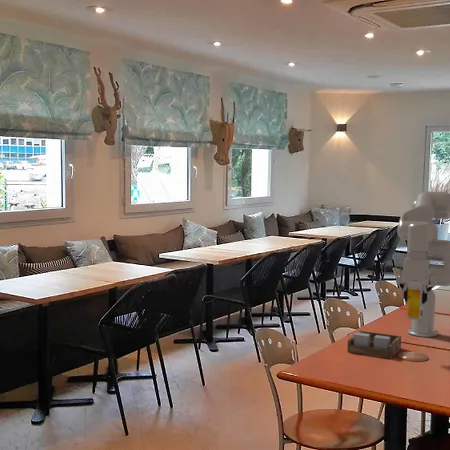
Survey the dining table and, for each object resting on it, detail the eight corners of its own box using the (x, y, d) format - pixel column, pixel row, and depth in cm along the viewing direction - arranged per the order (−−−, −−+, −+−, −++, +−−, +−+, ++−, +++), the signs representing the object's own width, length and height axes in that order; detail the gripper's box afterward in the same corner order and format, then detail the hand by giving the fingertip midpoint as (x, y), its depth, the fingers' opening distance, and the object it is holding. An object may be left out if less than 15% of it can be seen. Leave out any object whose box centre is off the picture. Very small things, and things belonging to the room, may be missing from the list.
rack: (359, 342, 261) (360, 330, 261) (400, 348, 253) (401, 336, 253) (347, 352, 247) (347, 339, 246) (390, 358, 239) (391, 345, 238)
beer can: (410, 315, 244) (411, 278, 243) (425, 318, 240) (426, 279, 239) (403, 318, 239) (405, 279, 238) (419, 321, 235) (420, 281, 234)
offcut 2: (375, 352, 247) (376, 334, 247) (389, 354, 245) (390, 336, 244) (373, 354, 244) (373, 337, 243) (387, 356, 241) (388, 339, 241)
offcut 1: (356, 349, 251) (356, 332, 250) (369, 351, 248) (370, 334, 248) (353, 351, 248) (353, 334, 247) (366, 353, 245) (367, 336, 244)
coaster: (401, 351, 248) (401, 350, 248) (430, 355, 243) (430, 354, 243) (395, 358, 239) (395, 357, 239) (424, 363, 234) (424, 361, 233)
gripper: (442, 256, 237) (440, 302, 238) (396, 252, 245) (394, 298, 247) (438, 258, 230) (436, 306, 232) (392, 254, 239) (390, 301, 240)
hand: (415, 301), depth 239 cm, fingers closed on beer can, 5 cm apart
